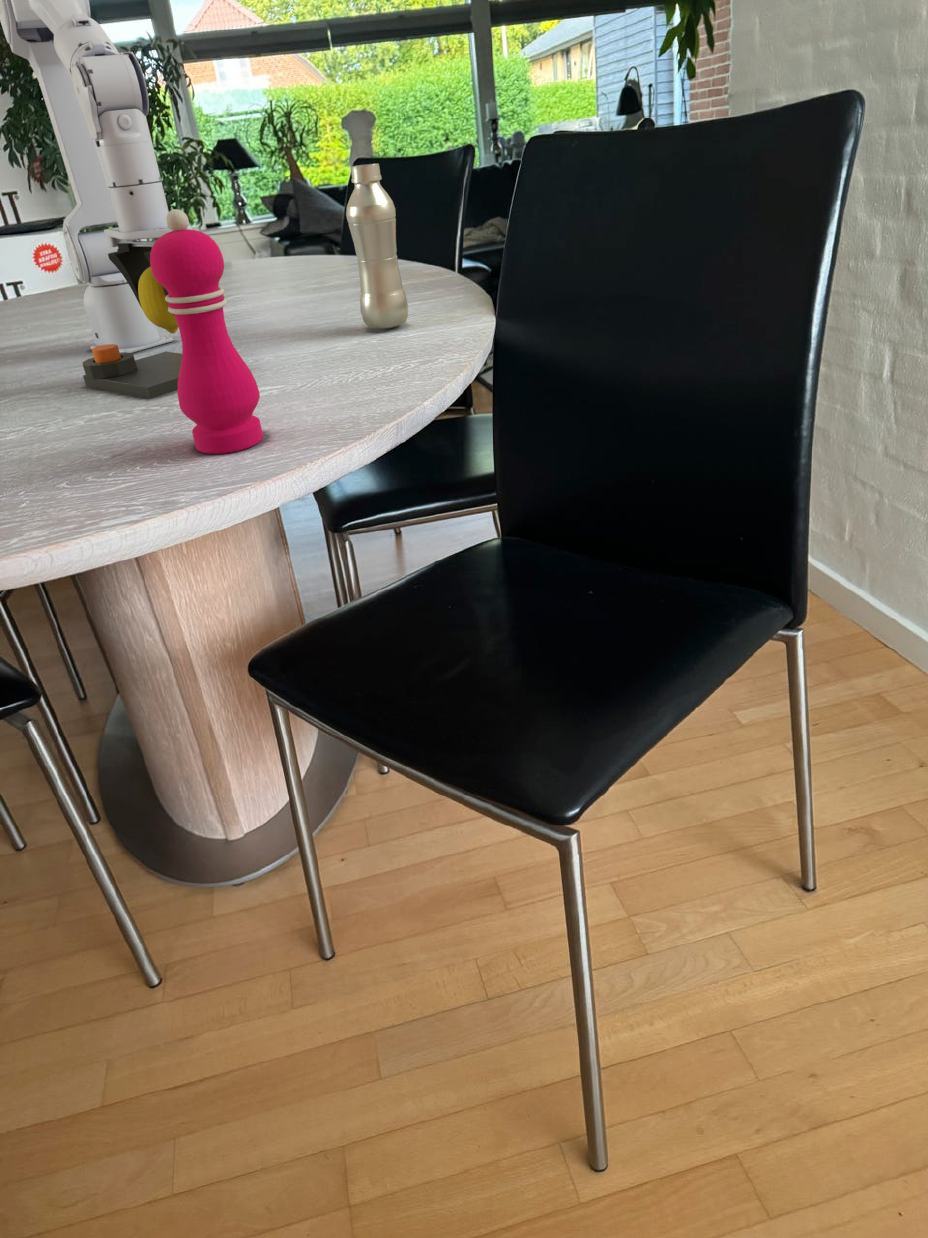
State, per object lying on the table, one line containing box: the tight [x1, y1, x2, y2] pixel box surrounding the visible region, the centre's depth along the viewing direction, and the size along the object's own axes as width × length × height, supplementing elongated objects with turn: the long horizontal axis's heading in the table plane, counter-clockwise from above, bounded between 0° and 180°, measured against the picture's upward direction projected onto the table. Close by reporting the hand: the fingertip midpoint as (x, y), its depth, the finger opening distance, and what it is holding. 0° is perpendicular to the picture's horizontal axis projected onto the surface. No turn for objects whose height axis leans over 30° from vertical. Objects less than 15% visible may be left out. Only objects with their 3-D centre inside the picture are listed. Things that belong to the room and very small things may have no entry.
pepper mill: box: [150, 208, 264, 455], centre depth 76 cm, size 7×7×20 cm
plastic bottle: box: [345, 163, 409, 330], centre depth 114 cm, size 6×7×20 cm
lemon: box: [138, 266, 179, 334], centre depth 101 cm, size 6×6×8 cm
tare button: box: [91, 344, 121, 363], centre depth 104 cm, size 3×3×2 cm
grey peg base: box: [82, 351, 182, 400], centre depth 105 cm, size 14×12×3 cm
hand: (167, 312), depth 102 cm, fingers closed on lemon, 5 cm apart
